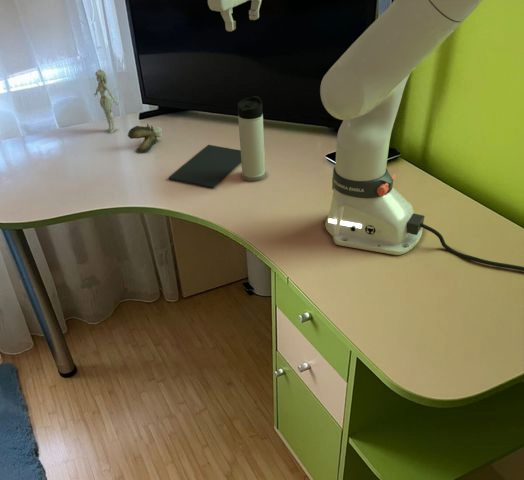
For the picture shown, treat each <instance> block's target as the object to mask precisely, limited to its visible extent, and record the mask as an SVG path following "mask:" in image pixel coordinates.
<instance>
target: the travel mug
mask: <svg viewBox="0 0 524 480" xmlns="http://www.w3.org/2000/svg"><path fill="white" fill-rule="evenodd" d="M237 118H238V132H239V133H238V135H239V147H240V149H239V150H241V163H240V164H241V175H242V178H243V179H244V180H246V181H249V182H257V181H261V180H263V179H264V178H265V177H266V160H265V159H266V158H265V157H266V156H265V135H264V134H265V133H264V114H263V101H262V99H261V97H260V96H256V95H253V96H252V97H246V98H243V99H241V100H240V101H238V103H237Z"/></svg>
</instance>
